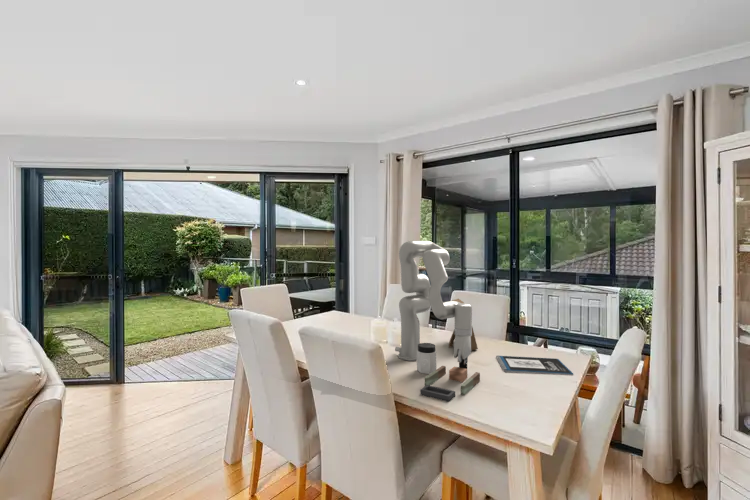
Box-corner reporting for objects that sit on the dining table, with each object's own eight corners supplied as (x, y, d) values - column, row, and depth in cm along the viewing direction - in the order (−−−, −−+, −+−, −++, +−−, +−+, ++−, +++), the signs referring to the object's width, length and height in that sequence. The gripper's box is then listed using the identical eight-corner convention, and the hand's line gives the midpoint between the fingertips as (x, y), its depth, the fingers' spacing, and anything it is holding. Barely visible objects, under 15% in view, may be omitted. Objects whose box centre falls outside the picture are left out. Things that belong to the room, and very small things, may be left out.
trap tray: (420, 394, 151) (420, 389, 151) (427, 389, 156) (427, 384, 156) (449, 401, 144) (449, 396, 144) (455, 396, 149) (455, 391, 149)
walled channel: (424, 386, 160) (424, 377, 160) (442, 373, 175) (442, 365, 175) (464, 395, 150) (464, 386, 150) (479, 380, 165) (479, 372, 165)
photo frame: (468, 340, 231) (468, 298, 231) (477, 350, 210) (477, 304, 209) (443, 340, 232) (443, 298, 231) (450, 351, 210) (449, 305, 209)
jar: (415, 372, 176) (415, 346, 175) (418, 367, 183) (418, 342, 183) (434, 374, 173) (434, 348, 173) (437, 369, 181) (437, 343, 180)
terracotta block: (449, 379, 167) (449, 370, 167) (454, 375, 172) (454, 366, 172) (462, 382, 164) (462, 372, 164) (467, 377, 169) (467, 368, 169)
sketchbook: (573, 376, 172) (573, 372, 172) (503, 373, 176) (503, 368, 176) (557, 361, 193) (558, 356, 193) (495, 358, 198) (495, 354, 198)
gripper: (461, 327, 180) (461, 366, 181) (448, 334, 168) (448, 376, 168) (476, 329, 176) (476, 369, 177) (465, 336, 164) (465, 379, 164)
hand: (463, 372), depth 172 cm, fingers closed
